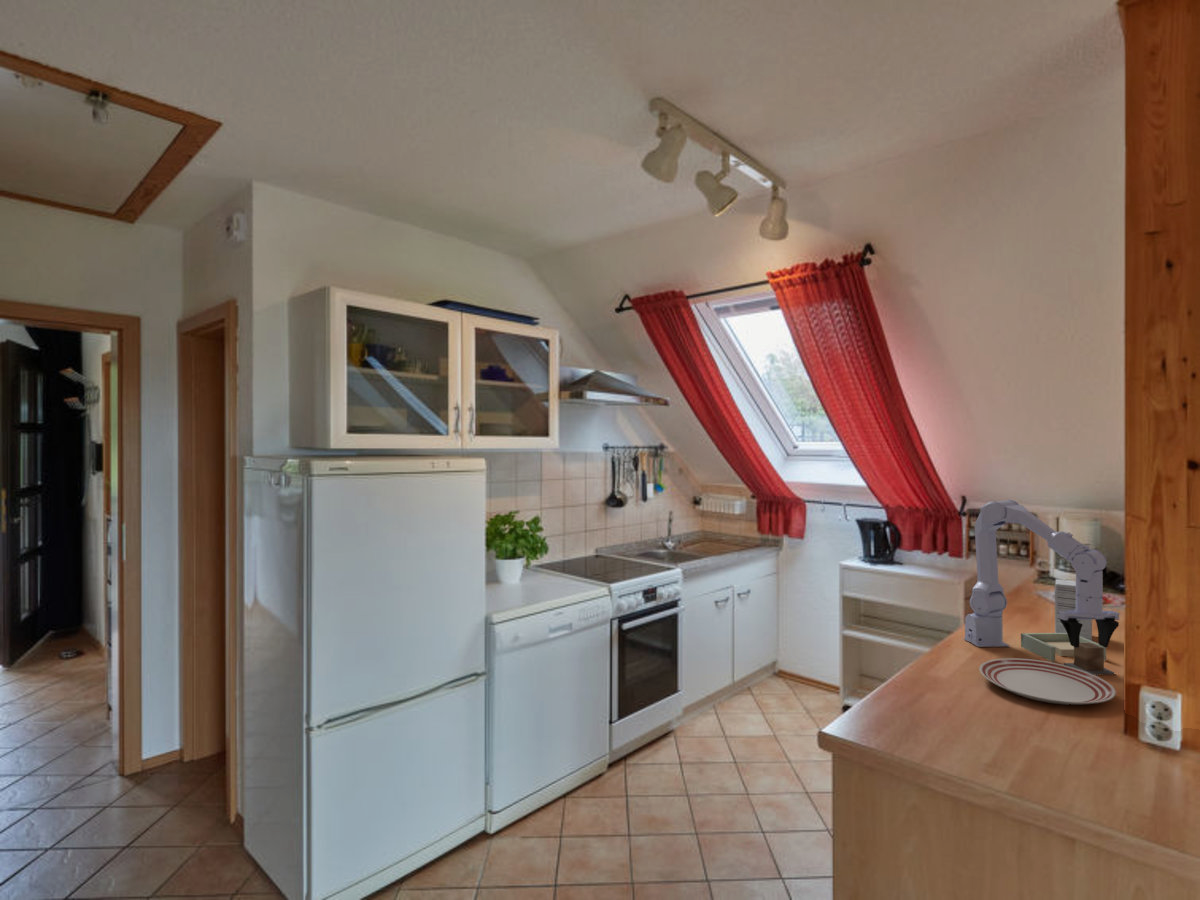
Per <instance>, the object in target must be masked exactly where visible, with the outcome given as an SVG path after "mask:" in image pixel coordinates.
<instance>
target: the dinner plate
mask: <svg viewBox="0 0 1200 900" xmlns="http://www.w3.org/2000/svg"><path fill="white" fill-rule="evenodd" d="M979 672H980V674H981V675H982V676H983V677H984V678H985V679H987V680H988V681H990V682H991V683H992V684H994V685H996V686H997V687H1000V688H1002V689H1003V690H1006V691H1009V692H1011V693H1013V694H1015V695H1017V696H1020V697H1023V698H1026V699H1029V700H1034V701H1038V702H1042V703H1049V704H1056V705H1057V704H1058V705H1069V704H1071V705H1091V704H1092V705H1093V704H1101V703H1105V702H1108V701H1111V700H1113V698H1115V696H1116V693H1117V692H1116V689H1115V688H1114V687H1113V685H1112V684H1110V683H1109V682H1108V681H1106V680H1105V679H1103V678H1101V677H1099V676H1098V675H1093V674H1090V673H1088V672H1085V671H1082V670H1079V669H1076V668H1073V667H1069V666H1066V665H1064V664H1060V663H1056V662H1052V661H1045V660H1039V659H1031V658H1017V657H1016V658H1013V657H1012V658H997V659H990V660H987V661H985V662H983V663H981V664H980V666H979Z"/></svg>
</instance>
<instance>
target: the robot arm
mask: <svg viewBox="0 0 1200 900" xmlns="http://www.w3.org/2000/svg"><path fill="white" fill-rule="evenodd" d="M979 509H980V511H979V512H980V513H979V515H978V517H977V518H976V521H975V523H974V534H975V535H974V536H975V537H974V538H975V539H974V540H975V555H976V580H977V582H976V583H975V585H973V587H972V589H971V597H970V599H969V605H970V608H971V609H972V610H973V613H969V614H967V615H966V616H965V618H964V637H963V639H964V640H965V641H967V642H969V643H970V642H971V644H972V645H974V646H976V647H978V648H979V647H980V648H981V647H983V648H984V647H985V648H986V647H987V648H988V647H990V648H995V647H998V648H999V647H1001V648H1004V647H1010V644H1009V643H1007V642H1004V640H1003V637H1004V636H1003V634H1004V632H1003V630H1004V629H1003V613H1004V612H1003V611H1004V610H1005V609H1006V608H1007V606H1008V601H1007V597H1006V595H1005V593H1004V587H1003V586H1002V584H1000V582H999V571H998V570H999V569H998V550H997V549H998V548H997V530H999V529H1000V528H1002V526H1004V525H1005V524H1019V525H1020V526H1021V525H1022V526H1023V527H1025V528H1026V529H1028V530H1030V531H1031V532H1033V533H1034V534H1036V535H1037V536H1039V537H1041V538H1042V539H1044V540H1045V541H1046V542H1047V547H1048V548H1049V549H1051V550H1052V551H1054V552H1055V553H1056V554H1058V555H1059V556H1061V557H1062V558H1063V559H1065V560H1067V561H1068V562H1069V563H1070V564H1071V567H1072V568H1073V569H1074V571H1075V581H1076V610H1069V611H1059V618H1060V621H1061V623H1062V624H1063V626H1064V628H1065V630H1066V632H1067V634H1068V637H1069V641H1070V644H1071V646H1074V647H1079V639H1080V631H1081V628H1082V625H1083V624H1081V623H1078V621H1077V619H1092V620H1094V621H1095V623H1096V628H1097V633H1098V634H1097V635H1098V636H1097V640H1098V644H1099V645H1101V646H1103V647H1106V648H1108V646H1109V644H1110V641H1111V638H1112V636H1113V634H1114V632H1115V631H1116V629H1117V628H1119V626H1120V623H1119V621H1120V612H1117V611H1114V610H1103V608H1104V607H1103V606H1104V605H1103V603H1104V602H1103V601H1104V600H1103V593H1104V591H1103V590H1104V589H1103V587H1104V585H1103V584H1104V583H1103V582H1104V581H1103V577H1104V575H1103V573H1104V572H1103V570H1104V569H1105V568H1106V567H1107V564H1108V561H1107V558H1106V555H1104V553H1102V552H1101V551H1100V550H1098V549H1095V548H1092V549H1090V546H1089V545H1088V544H1083V543H1082V542H1080V541H1079V540H1078V539H1076V538H1074V537H1073V536H1074V535H1073V534H1072V533H1070V532H1065V531H1056V530H1054V529H1053V528H1052V527H1050V526H1049V525H1048V524H1046V523H1045V522H1044V521H1042V520H1041V519H1040V518H1039V517H1037V516H1036V515H1035V514H1033V513H1031V512H1030V511H1029V510H1028V508H1026V507H1025V506H1024V505H1023V504H1019V503H1018V502H1017V501H1016V500H1013V499H1005V500H997V501H993V500H991V501H988V502H986V503H985V504H984V505H982V506H981V507H980V508H979Z"/></svg>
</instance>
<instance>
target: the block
mask: <svg viewBox="0 0 1200 900" xmlns="http://www.w3.org/2000/svg"><path fill="white" fill-rule="evenodd" d="M1073 663H1074V665H1075V666H1077V667H1080V668H1082V669H1084V670H1086V671H1104V668H1105V665H1104V664H1105V661H1104V648H1102V647H1100V646H1097V645H1095V644H1092V643H1079V647H1074V656H1073Z"/></svg>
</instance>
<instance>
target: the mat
mask: <svg viewBox="0 0 1200 900" xmlns="http://www.w3.org/2000/svg"><path fill="white" fill-rule="evenodd" d="M1063 665H1065V666H1069V667H1073V668H1076V669H1079V670H1082V671H1085V672H1088V673H1090V674H1093V675H1094V674H1096V675H1095V676H1100V675H1099V674H1114V673H1115V672H1114V671H1112V670H1109V669H1107V668H1105V667H1104V671H1086V670H1084V669H1082V668H1080V667H1077V666H1075V665H1074V662H1063ZM1097 674H1098V675H1097Z"/></svg>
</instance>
